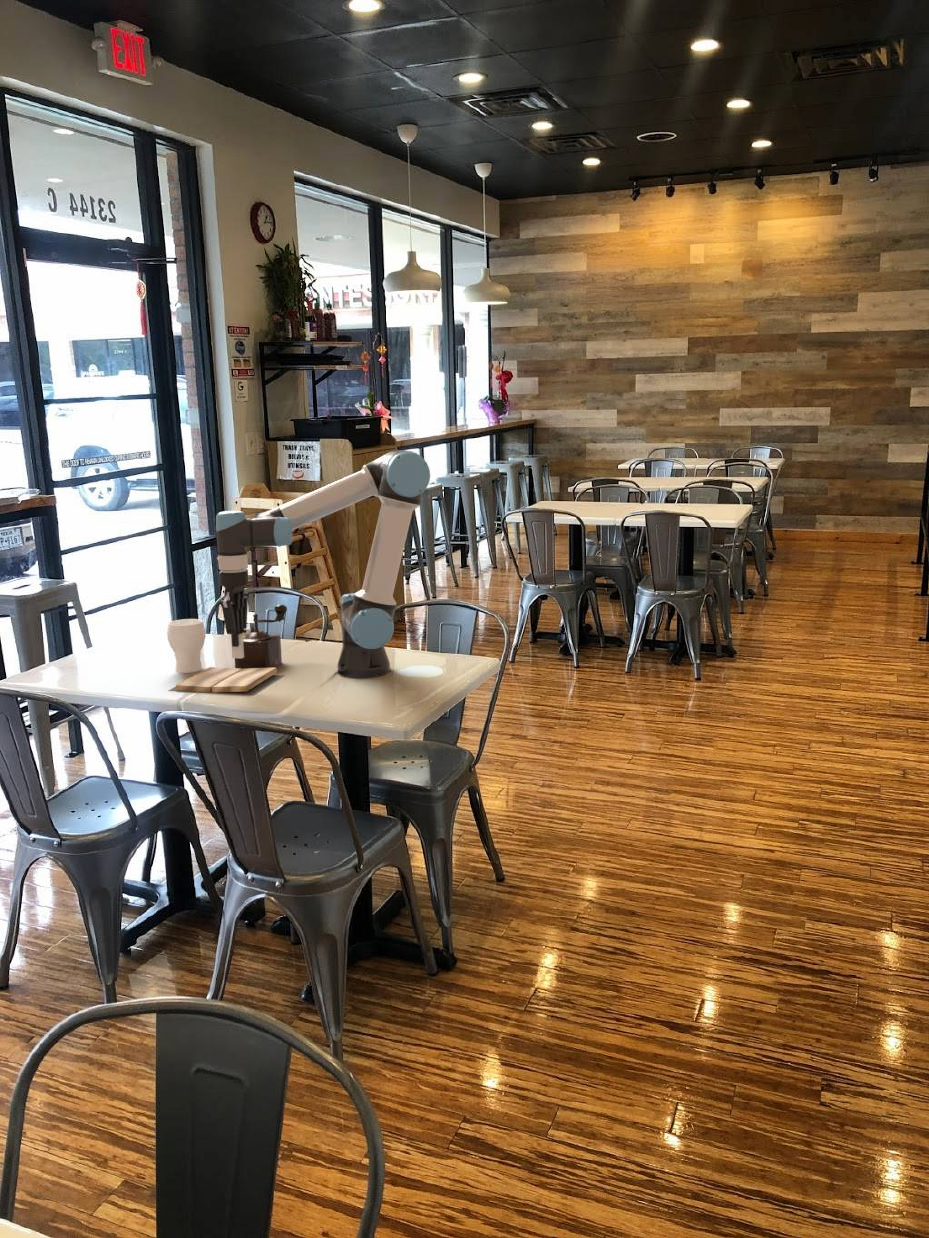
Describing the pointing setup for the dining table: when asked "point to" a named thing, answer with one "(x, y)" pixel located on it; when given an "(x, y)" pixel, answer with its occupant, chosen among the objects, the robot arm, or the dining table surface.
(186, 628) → the cup
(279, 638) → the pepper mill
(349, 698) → the dining table surface
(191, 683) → the plank
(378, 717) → the dining table surface
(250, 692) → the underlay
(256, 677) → the plank
